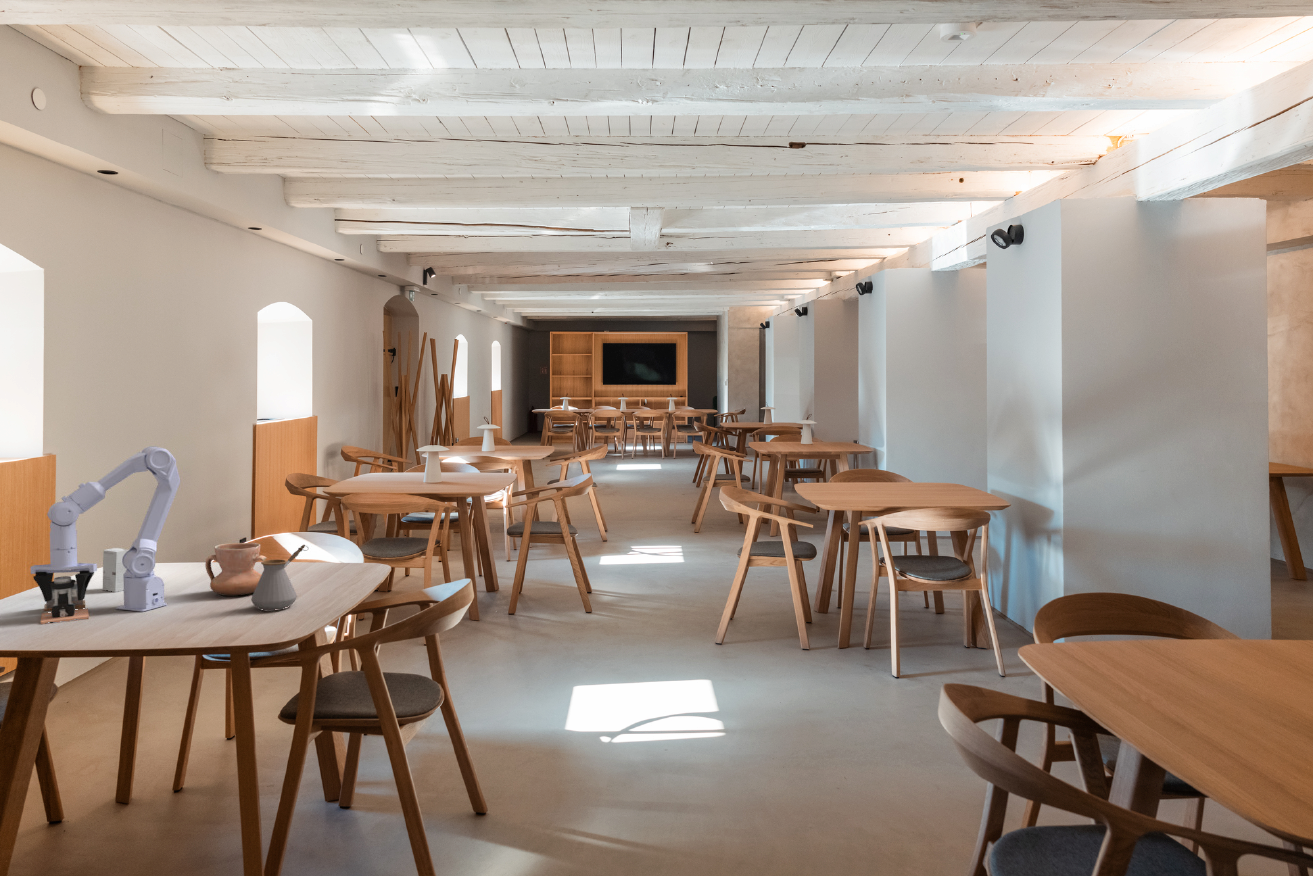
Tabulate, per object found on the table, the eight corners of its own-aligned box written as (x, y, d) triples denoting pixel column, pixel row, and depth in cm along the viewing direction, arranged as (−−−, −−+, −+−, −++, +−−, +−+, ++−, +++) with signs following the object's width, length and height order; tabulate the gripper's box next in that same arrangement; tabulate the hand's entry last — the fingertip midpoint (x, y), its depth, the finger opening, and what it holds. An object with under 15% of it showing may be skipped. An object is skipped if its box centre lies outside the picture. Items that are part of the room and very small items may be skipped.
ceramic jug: (278, 588, 254) (278, 541, 253) (251, 599, 239) (251, 550, 239) (221, 586, 255) (221, 540, 254) (191, 598, 241) (191, 548, 240)
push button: (43, 620, 213) (42, 581, 212) (45, 615, 217) (44, 577, 216) (75, 617, 216) (74, 579, 215) (76, 612, 221) (76, 574, 220)
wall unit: (85, 608, 227) (84, 583, 226) (44, 613, 222) (43, 587, 221) (84, 604, 232) (84, 579, 231) (44, 608, 226) (44, 583, 226)
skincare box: (101, 590, 248) (101, 549, 248) (116, 587, 252) (116, 547, 252) (115, 592, 246) (114, 551, 245) (130, 589, 250) (129, 549, 250)
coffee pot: (281, 614, 224) (281, 558, 223) (242, 612, 226) (241, 556, 225) (324, 595, 245) (323, 544, 244) (287, 594, 247) (287, 543, 246)
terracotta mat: (88, 618, 217) (88, 616, 217) (40, 624, 211) (40, 622, 211) (87, 610, 225) (87, 608, 225) (41, 615, 219) (41, 613, 219)
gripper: (101, 544, 223) (102, 595, 223) (39, 546, 220) (41, 597, 220) (89, 549, 216) (90, 601, 216) (25, 551, 213) (26, 604, 213)
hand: (64, 600), depth 218 cm, fingers open, 7 cm apart
